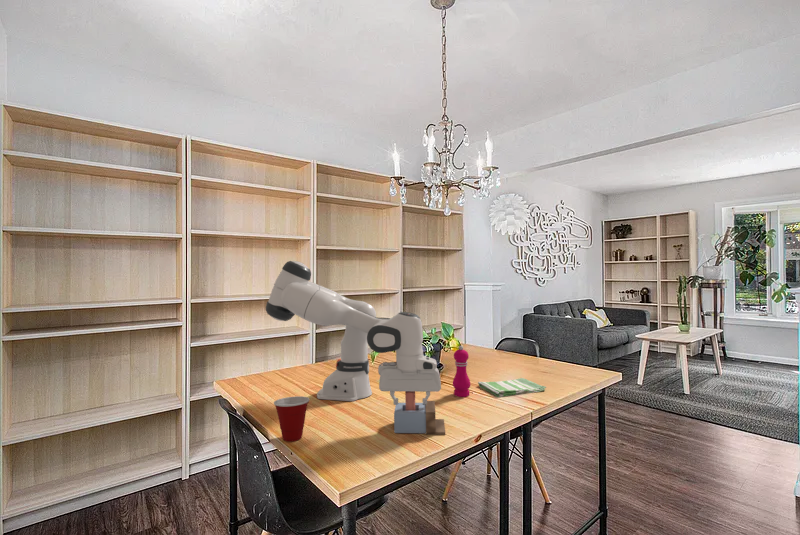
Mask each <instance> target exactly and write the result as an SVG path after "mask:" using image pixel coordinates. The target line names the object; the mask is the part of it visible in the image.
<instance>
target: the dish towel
mask: <svg viewBox="0 0 800 535" xmlns="http://www.w3.org/2000/svg"><path fill="white" fill-rule="evenodd" d="M477 384H478V387H479V388H480V389H483V390H484V391H486V392H488V393H490V394H492V395H494V396H495V397H497V398H501V397H510V396H516V395H526V394H532V393H539V392H544V391H546V388H547V386H545V385H541V384H538V383H536V382H534V381H531V380H529V379H526V378H524V377H523V378H522V377H520V378H516V379H511V380H510V379H508V380H502V381H501V380H499V381H478V382H477Z"/></svg>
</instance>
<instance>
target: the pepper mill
mask: <svg viewBox="0 0 800 535" xmlns="http://www.w3.org/2000/svg"><path fill="white" fill-rule="evenodd" d="M453 358H454V360H455V361H454V363H455V364H454V365H455V367H456V370H455V371H456V373H455V375H454V377H453V380H452V386H453V388H454V390H453V395H454V396H455V397H458V398H467V397H469V396H470V390H469V389H470V388H471V386H472V384H471V380H470V377H469V375H468V372H467V366H468V359H469V358H470V357H469V353H468V351H467V350H465V349H464V346H463V345H459V346H458V349H457V350H455V351H454V353H453Z"/></svg>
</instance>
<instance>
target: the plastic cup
mask: <svg viewBox="0 0 800 535" xmlns="http://www.w3.org/2000/svg"><path fill="white" fill-rule="evenodd" d="M309 402H310V398H309V397H308V396H301V395H300V396H287V397H282V398H279V399H276V400H274V401H273V405H274V407H275V409H276V413H277V418H278V423H279V428H280V431H281V438H282V440H283V441H284V442H291V443H292V442H296V441H300V439H302V437H303V434H304V428H305V427H304V426H305V422H306V413H307V412H306V411H307V408H308V403H309Z"/></svg>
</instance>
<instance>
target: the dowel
mask: <svg viewBox="0 0 800 535" xmlns="http://www.w3.org/2000/svg"><path fill="white" fill-rule="evenodd" d="M404 392H405V398H404V399H405V403H406V411H415V403H416V391H404Z"/></svg>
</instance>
